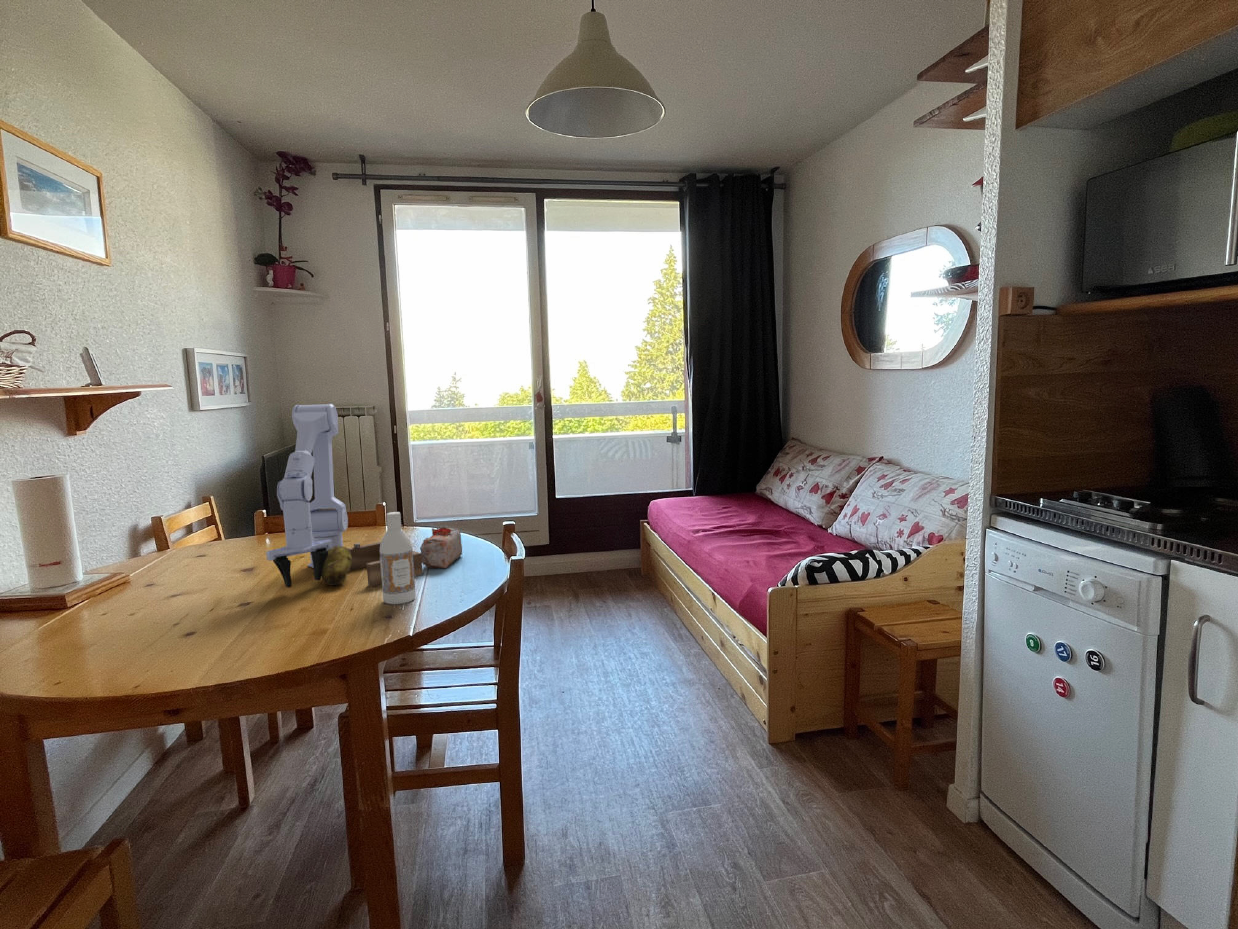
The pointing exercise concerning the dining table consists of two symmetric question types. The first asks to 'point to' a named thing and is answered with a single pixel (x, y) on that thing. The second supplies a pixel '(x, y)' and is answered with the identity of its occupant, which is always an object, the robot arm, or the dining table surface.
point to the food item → (441, 548)
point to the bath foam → (396, 563)
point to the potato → (336, 565)
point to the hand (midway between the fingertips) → (303, 583)
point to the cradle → (376, 561)
